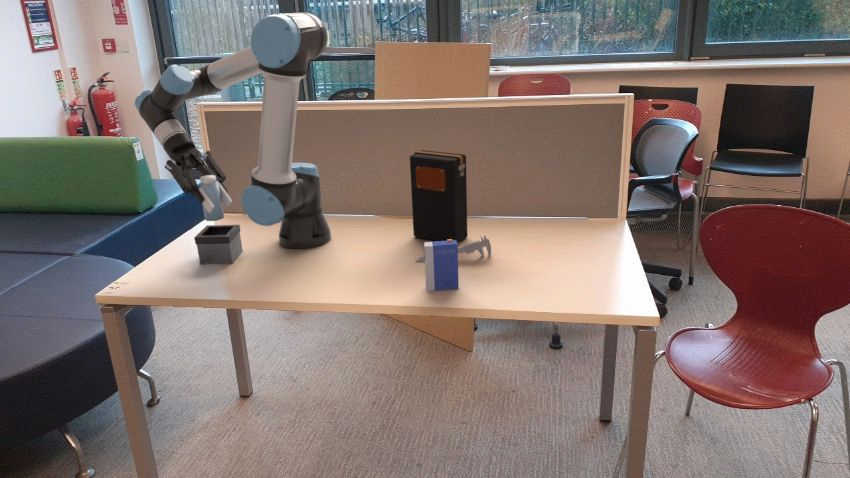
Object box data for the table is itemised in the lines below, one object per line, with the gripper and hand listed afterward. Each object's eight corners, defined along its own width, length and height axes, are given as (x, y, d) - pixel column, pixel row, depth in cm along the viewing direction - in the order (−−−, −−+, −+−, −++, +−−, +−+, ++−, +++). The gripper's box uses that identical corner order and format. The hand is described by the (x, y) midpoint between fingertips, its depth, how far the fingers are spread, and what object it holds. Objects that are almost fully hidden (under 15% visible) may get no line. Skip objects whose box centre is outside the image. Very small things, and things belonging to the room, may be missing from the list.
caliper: (490, 256, 171) (490, 234, 169) (491, 257, 170) (491, 236, 168) (415, 261, 170) (414, 239, 167) (415, 262, 169) (414, 241, 166)
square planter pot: (243, 250, 181) (239, 224, 178) (233, 263, 172) (228, 236, 169) (211, 251, 181) (206, 225, 179) (199, 264, 173) (194, 237, 170)
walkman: (456, 284, 155) (455, 238, 150) (458, 289, 152) (457, 242, 148) (425, 286, 154) (423, 240, 150) (426, 291, 151) (424, 245, 147)
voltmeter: (470, 237, 184) (469, 153, 175) (455, 247, 177) (453, 160, 168) (425, 228, 192) (421, 148, 183) (409, 238, 185) (405, 154, 176)
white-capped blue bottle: (226, 214, 175) (220, 174, 171) (220, 220, 170) (213, 179, 166) (209, 215, 175) (202, 174, 171) (202, 221, 170) (195, 179, 166)
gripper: (199, 142, 182) (243, 205, 178) (141, 155, 168) (187, 224, 165) (207, 125, 177) (253, 190, 173) (148, 137, 163) (196, 208, 160)
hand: (221, 207), depth 169 cm, fingers closed on white-capped blue bottle, 5 cm apart
